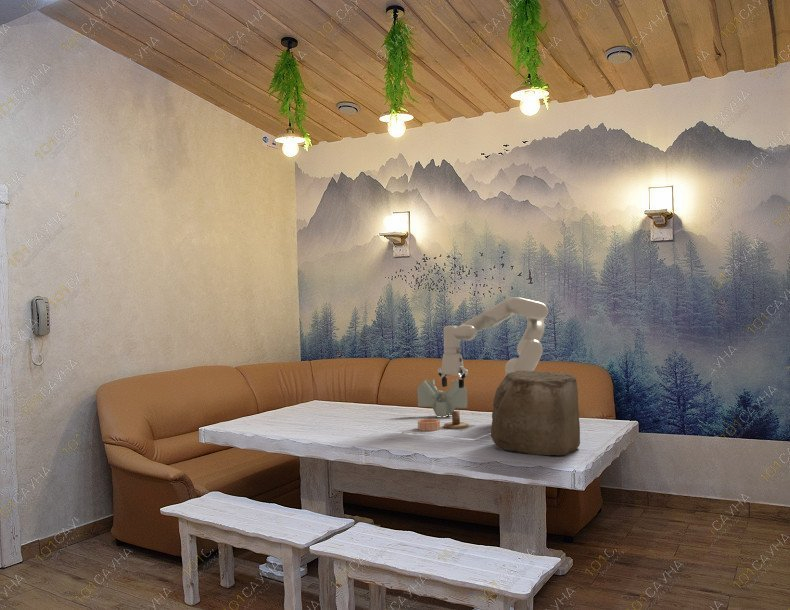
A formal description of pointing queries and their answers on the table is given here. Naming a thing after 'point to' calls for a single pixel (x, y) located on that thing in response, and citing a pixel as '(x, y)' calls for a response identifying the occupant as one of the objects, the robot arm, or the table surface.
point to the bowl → (429, 424)
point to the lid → (456, 422)
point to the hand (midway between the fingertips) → (452, 387)
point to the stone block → (536, 413)
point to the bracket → (440, 403)
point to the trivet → (458, 429)
